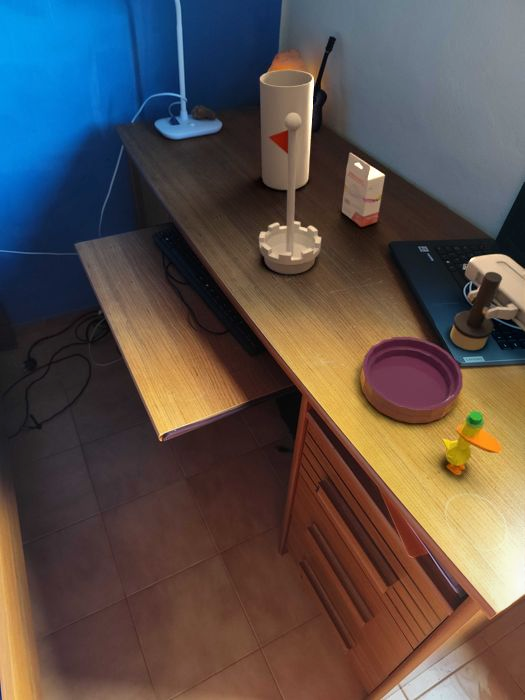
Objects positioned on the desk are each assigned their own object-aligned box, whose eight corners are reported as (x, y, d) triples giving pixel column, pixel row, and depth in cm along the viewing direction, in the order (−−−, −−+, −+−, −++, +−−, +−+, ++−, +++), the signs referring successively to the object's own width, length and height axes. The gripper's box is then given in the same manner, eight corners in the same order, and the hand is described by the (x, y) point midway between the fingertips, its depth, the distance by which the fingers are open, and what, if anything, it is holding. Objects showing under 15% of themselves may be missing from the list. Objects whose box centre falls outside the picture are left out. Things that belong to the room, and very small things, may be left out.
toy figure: (484, 474, 65) (516, 425, 56) (473, 492, 63) (504, 444, 55) (440, 446, 68) (464, 396, 60) (428, 463, 66) (451, 413, 58)
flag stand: (330, 253, 102) (344, 108, 81) (299, 284, 95) (306, 134, 73) (280, 235, 108) (281, 95, 86) (247, 264, 100) (240, 118, 79)
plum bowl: (475, 409, 73) (483, 393, 70) (389, 437, 70) (394, 421, 67) (421, 343, 83) (427, 327, 80) (344, 366, 80) (346, 349, 77)
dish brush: (494, 345, 82) (524, 283, 72) (463, 355, 81) (489, 293, 71) (471, 322, 86) (497, 261, 76) (441, 331, 85) (463, 269, 75)
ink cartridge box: (378, 222, 111) (389, 161, 100) (361, 228, 109) (370, 167, 98) (357, 206, 116) (365, 147, 105) (340, 211, 114) (347, 152, 104)
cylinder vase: (294, 196, 120) (297, 90, 102) (253, 184, 125) (249, 81, 107) (316, 176, 127) (322, 74, 109) (277, 166, 132) (277, 67, 114)
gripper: (511, 240, 85) (445, 255, 82) (601, 309, 71) (527, 331, 68) (499, 268, 89) (436, 284, 86) (581, 338, 76) (511, 360, 73)
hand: (477, 305), depth 77 cm, fingers closed on dish brush, 2 cm apart
